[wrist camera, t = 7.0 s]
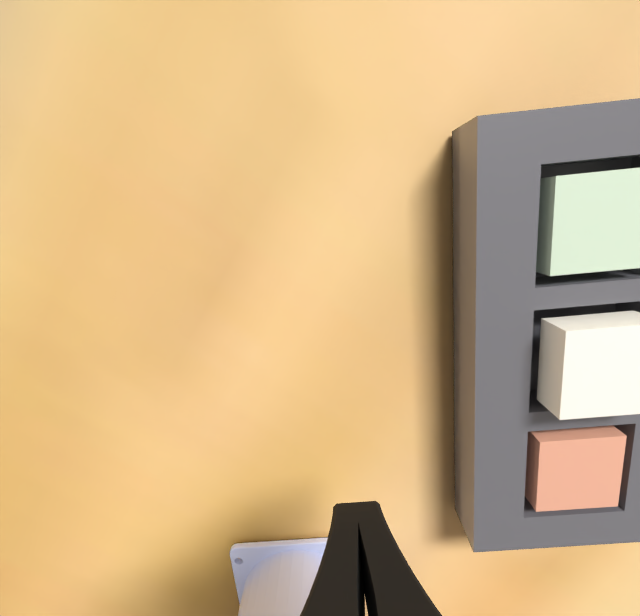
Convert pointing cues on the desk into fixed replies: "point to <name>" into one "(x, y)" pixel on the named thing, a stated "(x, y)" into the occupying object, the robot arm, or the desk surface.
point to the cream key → (590, 365)
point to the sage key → (589, 222)
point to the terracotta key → (574, 468)
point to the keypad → (527, 318)
